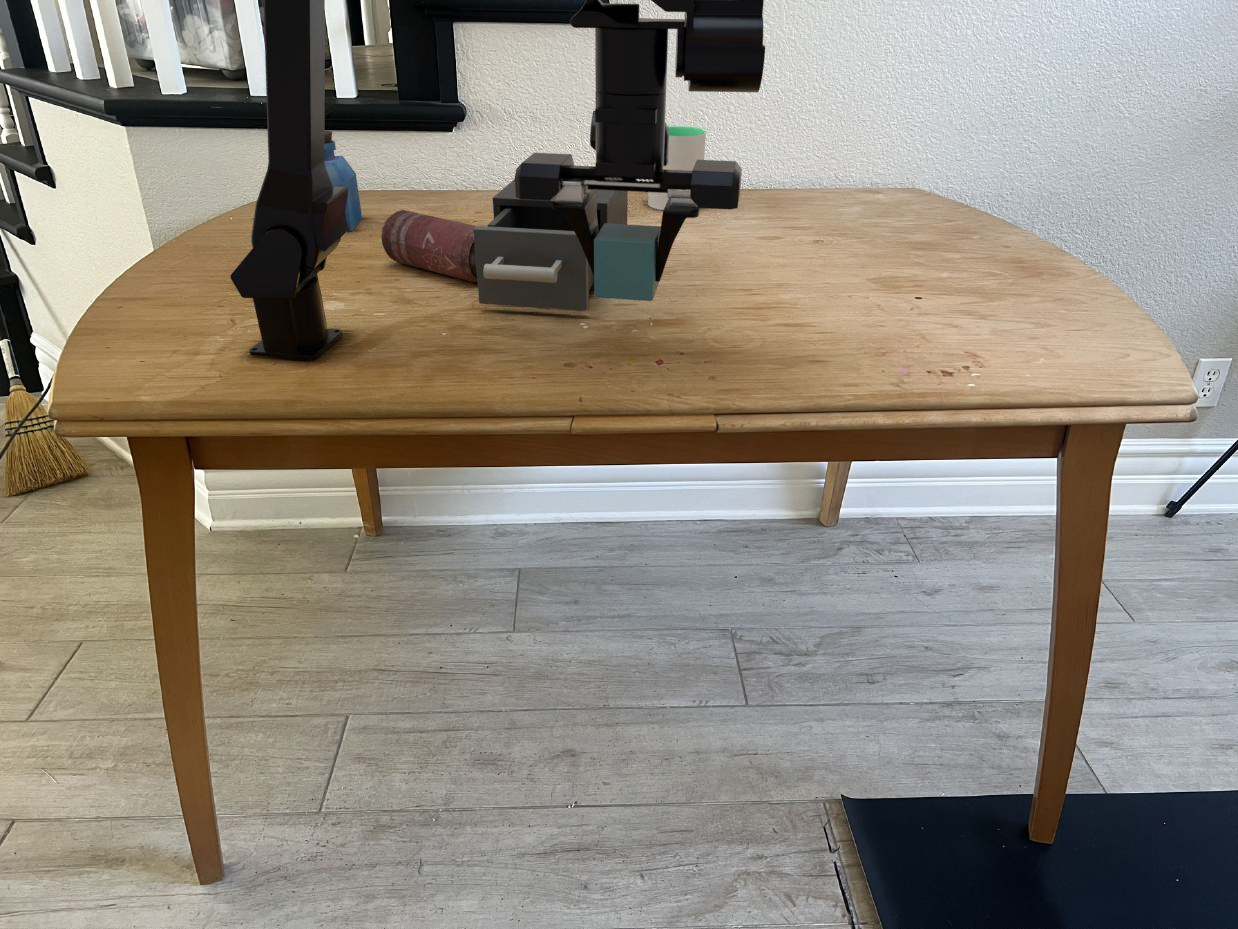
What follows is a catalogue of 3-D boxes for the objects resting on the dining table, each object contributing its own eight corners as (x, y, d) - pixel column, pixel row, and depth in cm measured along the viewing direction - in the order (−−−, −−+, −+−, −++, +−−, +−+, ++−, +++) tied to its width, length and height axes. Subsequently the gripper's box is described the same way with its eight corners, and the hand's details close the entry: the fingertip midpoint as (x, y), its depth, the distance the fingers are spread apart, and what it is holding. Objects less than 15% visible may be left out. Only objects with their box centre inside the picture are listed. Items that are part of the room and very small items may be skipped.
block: (652, 301, 75) (654, 242, 72) (594, 297, 76) (593, 239, 73) (659, 282, 79) (661, 226, 77) (604, 278, 80) (604, 223, 77)
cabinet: (607, 290, 95) (607, 203, 90) (497, 283, 97) (492, 197, 92) (626, 251, 108) (628, 173, 103) (529, 246, 109) (526, 168, 104)
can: (408, 269, 105) (493, 292, 99) (372, 248, 100) (459, 271, 93) (425, 224, 105) (512, 243, 99) (390, 200, 100) (479, 219, 93)
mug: (635, 193, 134) (636, 122, 129) (684, 190, 136) (687, 120, 131) (656, 212, 124) (658, 137, 119) (709, 209, 126) (713, 134, 121)
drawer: (577, 327, 84) (576, 248, 80) (465, 319, 85) (458, 241, 81) (608, 269, 99) (609, 201, 95) (513, 263, 100) (509, 196, 96)
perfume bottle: (362, 218, 120) (349, 128, 114) (352, 231, 115) (337, 136, 108) (317, 218, 120) (302, 128, 114) (305, 231, 114) (288, 136, 108)
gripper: (750, 81, 74) (736, 257, 83) (541, 75, 77) (547, 246, 85) (746, 100, 65) (730, 296, 73) (508, 92, 68) (518, 283, 76)
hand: (628, 278), depth 77 cm, fingers closed on block, 5 cm apart
